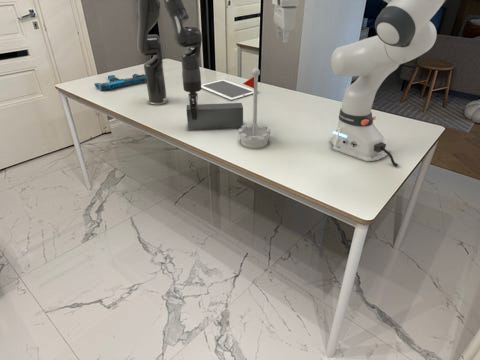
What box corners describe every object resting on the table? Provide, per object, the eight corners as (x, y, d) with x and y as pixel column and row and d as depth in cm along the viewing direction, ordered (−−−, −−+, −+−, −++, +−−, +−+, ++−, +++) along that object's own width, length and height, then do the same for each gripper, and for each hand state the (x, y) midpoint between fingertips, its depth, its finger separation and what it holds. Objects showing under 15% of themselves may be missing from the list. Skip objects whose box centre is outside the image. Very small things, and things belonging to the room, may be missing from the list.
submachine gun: (139, 68, 225) (157, 74, 208) (140, 74, 227) (158, 80, 210) (87, 78, 206) (102, 86, 190) (88, 84, 208) (104, 92, 192)
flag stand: (262, 133, 147) (264, 62, 131) (275, 146, 137) (280, 71, 121) (234, 138, 144) (233, 65, 127) (245, 151, 133) (246, 74, 117)
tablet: (197, 86, 202) (197, 85, 202) (223, 79, 213) (223, 79, 213) (231, 100, 182) (231, 99, 181) (258, 92, 193) (258, 91, 193)
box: (241, 122, 158) (241, 102, 152) (243, 128, 152) (243, 107, 147) (188, 124, 155) (186, 104, 150) (188, 130, 150) (186, 109, 145)
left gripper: (183, 74, 147) (186, 110, 156) (182, 84, 135) (185, 123, 144) (200, 73, 148) (203, 110, 157) (200, 83, 136) (203, 122, 145)
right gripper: (270, -4, 129) (269, 34, 136) (281, 1, 112) (279, 45, 119) (287, -5, 129) (284, 34, 137) (300, 1, 112) (296, 45, 120)
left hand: (194, 116), depth 150 cm, fingers closed on box, 6 cm apart
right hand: (282, 39), depth 128 cm, fingers open, 8 cm apart
